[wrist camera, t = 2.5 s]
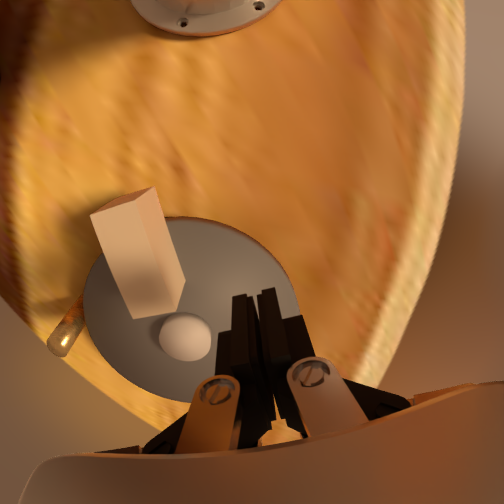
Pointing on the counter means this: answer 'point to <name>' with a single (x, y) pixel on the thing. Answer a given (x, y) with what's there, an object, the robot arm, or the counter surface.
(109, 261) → the disc
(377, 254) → the counter surface
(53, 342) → the brown rounded oblong piece
